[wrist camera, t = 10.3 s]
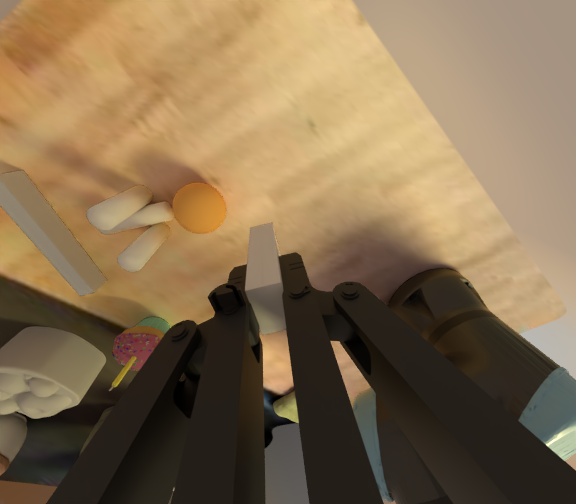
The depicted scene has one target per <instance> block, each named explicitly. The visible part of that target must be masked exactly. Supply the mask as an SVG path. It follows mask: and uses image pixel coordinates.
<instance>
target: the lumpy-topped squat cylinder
mask: <svg viewBox="0 0 576 504" xmlns="http://www.w3.org/2000/svg"><path fill="white" fill-rule="evenodd" d="M105 363H106V357H105V356H104V354H103V353H102V352H101V351H99V350H98V349H97V348H95V347H94V346H93V345H91V344H90V343H89V342H87V341H85V340H84V339H82V338H81V337H79V336H77V335H75V334H73V333H70V332H67V331H63V330H60V329H55V328H51V327H41V326H33V327H27V328H25V329H23V330H22V331H20V332H19V333H18V334H17V335H16V336H15V337H13V338H12V339H11V340H10V341H9V342H8V343H6V344H5V345H4V346H3V347H2V348H1V349H0V414H1V415H6V414H10V413H13V412H15V411H17V412H19V413H22V414H25V415H26V416H28V417H30V418H34V419H38V418H42V417H50V416H53V415H55V414H57V413H58V412H60V411H61V410H64V409H67V408H71V407H74V406H76V405H78V404H79V403H80V401H81V400H82V398H83V397H84V395H85V394H86V392H87V391H88V389H89V387H90V386H91V384H92V383H93V381H94V380H95V378H96V377H97V375H98V374H99V372H100V371H101V369H102V367H103V366H104V364H105Z"/></svg>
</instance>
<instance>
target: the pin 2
mask: <svg viewBox="0 0 576 504" xmlns="http://www.w3.org/2000/svg"><path fill="white" fill-rule="evenodd" d="M169 235H170V228H169V227H168V225H166V224H165V223H162V222H161V223H157V224H153V225H152V226H151V227H150V228H148V229H147V230H146V231H145V232H144V233H143V234H142V235H141V236H140V237H139V238H137V239H136V240H135V241H134V242H133V243H132V244H131V245H130V246H129V247H127V248H126V249H125V250H124V251H123V252H122V253H121V254H120V255H119V256H118V259H117V260H118V263H119V265H120V266H121V267H122V268H123V269H125V270H127V271H131V272H136V271H139V270H140V269H141V268H142V267H143V266H144V265H145V264H146V262H147V261H148V260H149V259H150V258H151V257H152V255H153V254H154V253H155V252H156V251H157V249H158V248H159V247H160V246H161V245H162V243H163V242H164V241H165V240H166V239H167V237H168V236H169Z"/></svg>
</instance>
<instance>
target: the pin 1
mask: <svg viewBox="0 0 576 504" xmlns="http://www.w3.org/2000/svg"><path fill="white" fill-rule="evenodd" d="M151 201H152V193H151V191H150V190H149V189H148V188H147V187H145V186H142V185H136V186H134V187H132V188H130V189H128V190H126V191H124V192H121V193H119V194H117V195H115V196H113V197H111V198H109V199H107V200H105V201H103V202H100V203H98V204H96V205H94V206H92V207H90V208H89V209H88V210H87V218H88V220H89V222H90V223H91V224H92V225H93V226H95V227H96V228H98V229H101V230H110V229H112V228H114V227H115V226H116V225H118V224H119V223H121V222H122V221H124V220H125V219H127V218H128V217H129V216H131V215H132V214H134V213H135V212H137V211H138V210H140V209H141V208H143V207H144V206H145V205H147V204H148V203H150V202H151Z"/></svg>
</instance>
